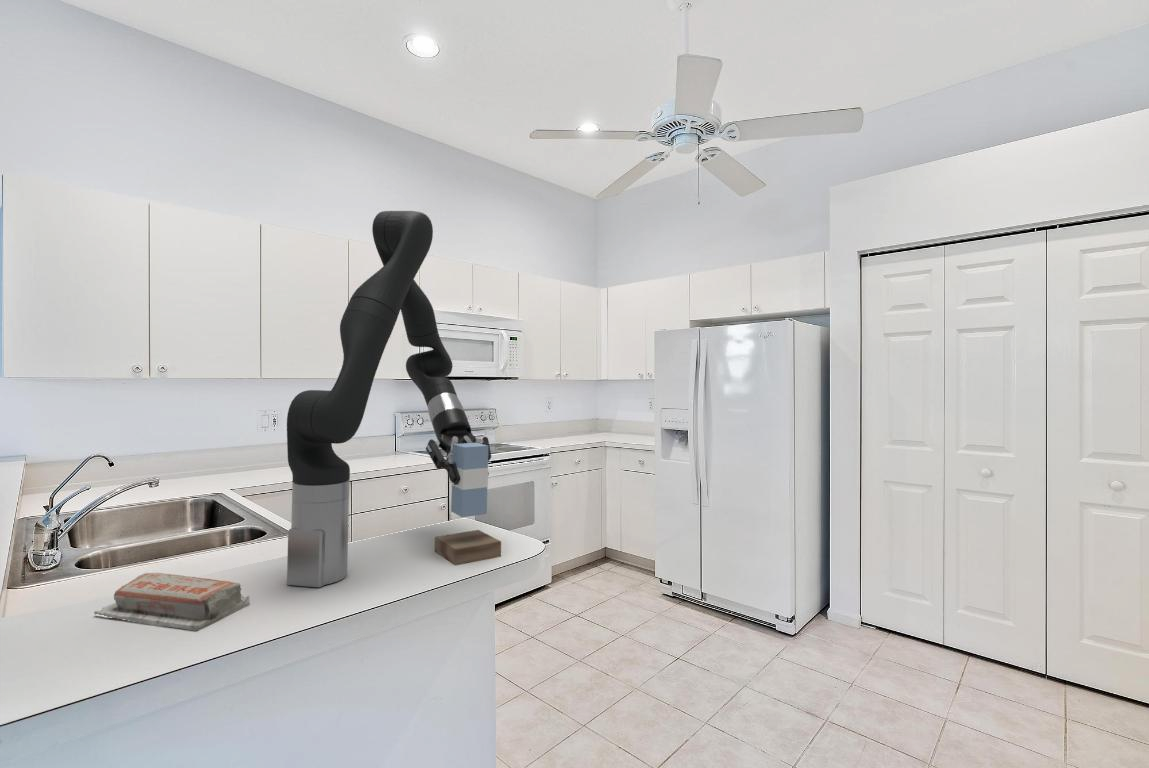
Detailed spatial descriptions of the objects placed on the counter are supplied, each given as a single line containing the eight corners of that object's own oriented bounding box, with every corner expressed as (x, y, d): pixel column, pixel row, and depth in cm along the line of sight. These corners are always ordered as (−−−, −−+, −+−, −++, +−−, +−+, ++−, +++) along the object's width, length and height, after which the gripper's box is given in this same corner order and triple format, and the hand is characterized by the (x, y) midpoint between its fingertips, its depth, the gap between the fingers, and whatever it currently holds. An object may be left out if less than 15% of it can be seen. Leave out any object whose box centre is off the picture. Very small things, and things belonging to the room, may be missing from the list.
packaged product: (253, 575, 85) (197, 600, 75) (252, 606, 85) (197, 635, 75) (158, 564, 89) (93, 587, 79) (157, 593, 89) (92, 620, 79)
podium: (500, 556, 111) (501, 541, 111) (455, 565, 105) (455, 549, 105) (478, 543, 119) (478, 529, 119) (434, 551, 113) (435, 536, 113)
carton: (487, 513, 112) (488, 445, 111) (462, 517, 108) (463, 447, 108) (474, 508, 116) (476, 442, 116) (450, 511, 113) (452, 444, 112)
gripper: (422, 407, 114) (444, 473, 105) (483, 406, 123) (508, 467, 113) (412, 430, 118) (432, 495, 109) (472, 427, 127) (495, 487, 118)
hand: (471, 480), depth 111 cm, fingers closed on carton, 5 cm apart
